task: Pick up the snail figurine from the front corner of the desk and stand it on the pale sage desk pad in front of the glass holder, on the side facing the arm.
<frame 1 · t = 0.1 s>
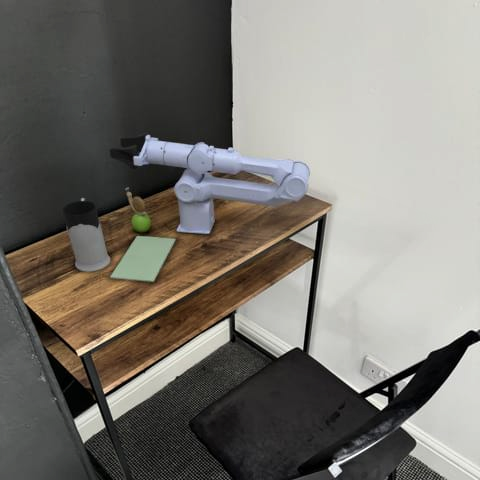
hand: (115, 147, 120), 22 cm above the table, tool horizontal, fingers open, 7 cm apart
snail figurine: (141, 231, 130), on the table
desk pad: (144, 258, 119), on the table
glass holder: (93, 256, 120), on the table
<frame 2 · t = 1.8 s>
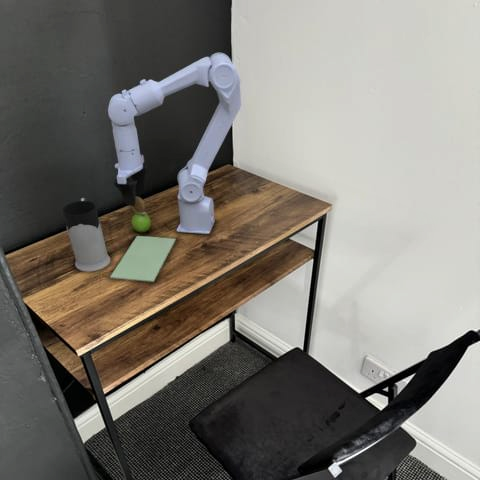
hand: (135, 198, 124), 10 cm above the table, tool pointing down, fingers open, 7 cm apart
nothing on the table moved.
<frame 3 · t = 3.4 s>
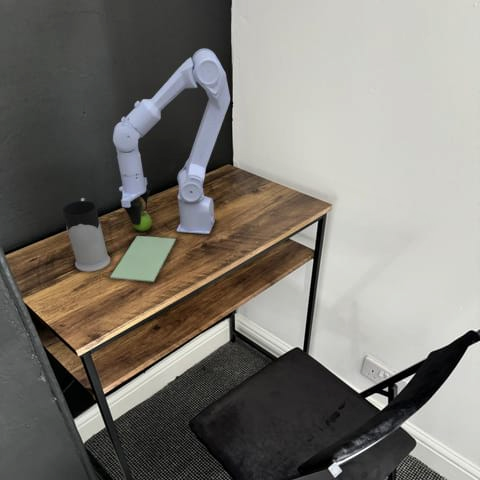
hand: (139, 219, 128), 3 cm above the table, tool pointing down, fingers closed on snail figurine, 4 cm apart
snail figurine: (142, 230, 130), on the table, touching gripper
everything else where it was.
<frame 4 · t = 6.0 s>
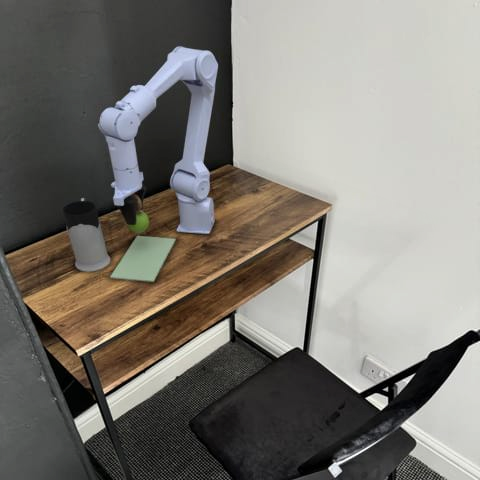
hand: (134, 219, 113), 10 cm above the table, tool pointing down, fingers closed on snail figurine, 4 cm apart
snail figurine: (138, 230, 116), point 7 cm above the table, touching gripper
everything else where it was.
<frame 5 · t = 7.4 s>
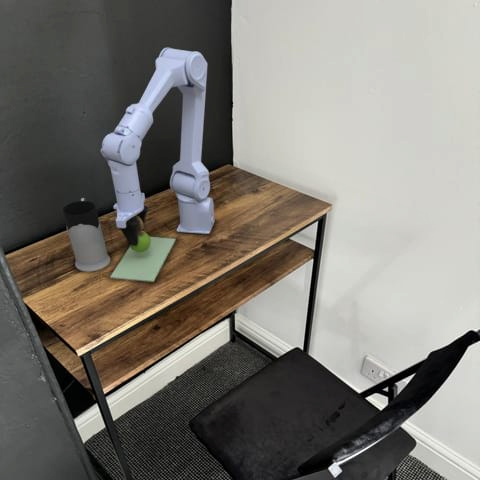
hand: (136, 240, 115), 6 cm above the table, tool pointing down, fingers closed on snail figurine, 4 cm apart
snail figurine: (140, 250, 118), point 2 cm above the table, touching gripper
everything else where it was.
when the fingers open (4 cm above the table, at t = 8.5 s): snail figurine stays where it is, resting on desk pad.
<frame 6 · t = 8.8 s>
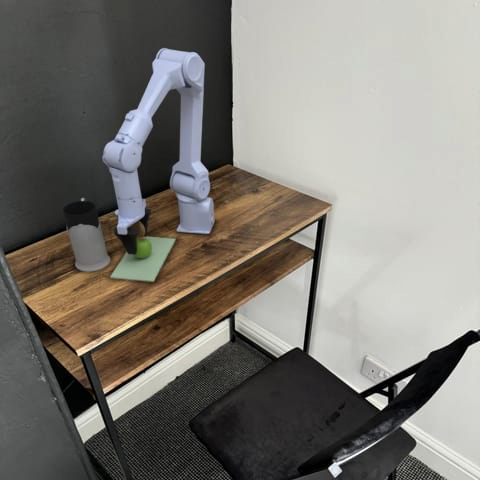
hand: (137, 245, 116), 4 cm above the table, tool pointing down, fingers open, 7 cm apart
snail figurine: (141, 256, 119), resting on desk pad
everything else where it was.
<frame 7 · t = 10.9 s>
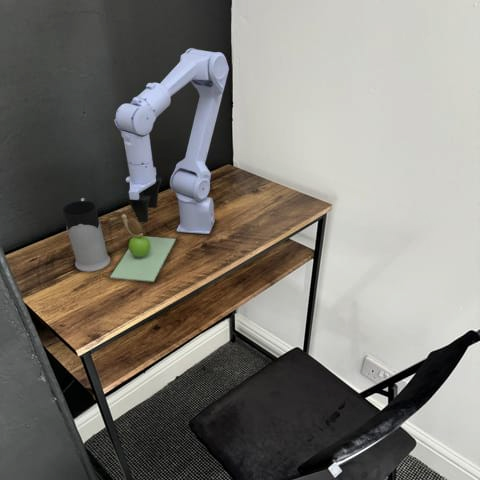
hand: (148, 214, 115), 10 cm above the table, tool pointing down, fingers open, 7 cm apart
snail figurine: (141, 256, 119), resting on desk pad, touching gripper
everything else where it was.
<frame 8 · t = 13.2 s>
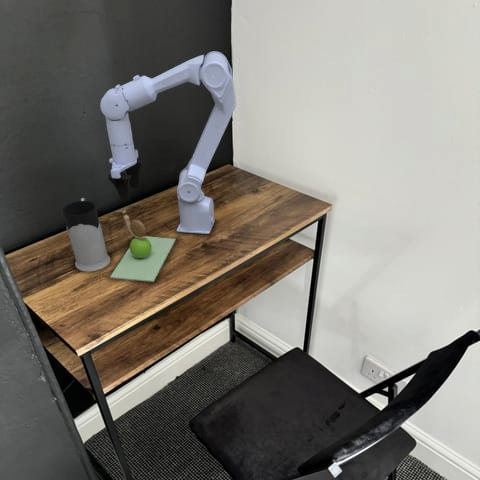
hand: (130, 193, 125), 10 cm above the table, tool pointing down, fingers open, 7 cm apart
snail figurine: (140, 256, 119), resting on desk pad
everything else where it was.
at the end: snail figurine inside the target area on the table beside the glass holder (1.3 cm from its centre), resting on desk pad; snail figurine tilted 0°; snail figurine touching desk pad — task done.
